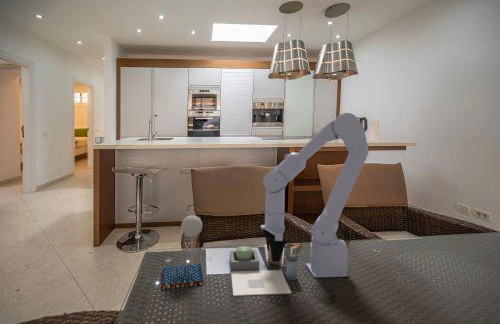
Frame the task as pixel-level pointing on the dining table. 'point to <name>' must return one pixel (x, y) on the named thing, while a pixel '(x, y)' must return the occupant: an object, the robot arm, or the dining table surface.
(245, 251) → the button
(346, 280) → the dining table surface
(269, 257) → the marker terracotta
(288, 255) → the marker slate
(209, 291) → the dining table surface
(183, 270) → the woven mat
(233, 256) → the button housing
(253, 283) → the paper
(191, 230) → the lollipop
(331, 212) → the robot arm
